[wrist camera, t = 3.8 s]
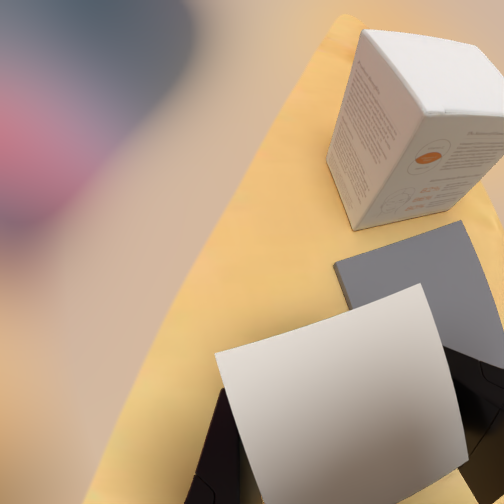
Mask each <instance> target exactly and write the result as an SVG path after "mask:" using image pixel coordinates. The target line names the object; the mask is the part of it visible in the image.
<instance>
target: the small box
mask: <svg viewBox="0 0 504 504" xmlns="http://www.w3.org/2000/svg"><path fill="white" fill-rule="evenodd" d="M503 155H504V77H503V76H502V75H501V73H500V72H499V71H498V70H497V68H496V67H495V66H494V65H493V64H492V63H491V62H490V60H489V59H488V58H487V57H486V56H485V55H484V54H483V53H482V51H481V50H480V49H479V48H478V47H477V46H474V45H469V44H465V43H461V42H457V41H452V40H447V39H441V38H436V37H430V36H424V35H417V34H410V33H401V32H392V31H382V30H370V29H363V30H362V31H361V34H360V38H359V42H358V46H357V49H356V53H355V57H354V61H353V65H352V69H351V72H350V76H349V80H348V83H347V87H346V90H345V94H344V98H343V101H342V104H341V108H340V112H339V115H338V119H337V122H336V126H335V129H334V133H333V136H332V139H331V143H330V146H329V150H328V153H327V156H326V161H327V164H328V166H329V169H330V171H331V174H332V176H333V179H334V181H335V184H336V187H337V189H338V192H339V194H340V197H341V200H342V202H343V205H344V208H345V210H346V213H347V216H348V218H349V221H350V224H351V227H352V229H353V230H354V231H357V230H361V229H365V228H369V227H374V226H378V225H383V224H388V223H392V222H397V221H401V220H406V219H411V218H415V217H420V216H424V215H429V214H433V213H438V212H443V211H448V210H449V209H450V208H451V207H453V206H454V205H455V204H456V203H457V202H458V201H459V200H460V199H461V198H462V197H463V196H464V195H465V194H466V193H467V192H468V191H469V190H470V189H471V188H472V187H473V186H474V185H475V184H476V183H477V182H478V181H479V180H480V179H481V178H482V177H483V176H484V175H485V174H486V173H487V172H488V171H489V170H490V169H491V168H492V167H493V166H494V165H495V164H496V163H497V162H498V161H499V159H500V158H501V157H502V156H503Z"/></svg>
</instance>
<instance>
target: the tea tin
mask: <svg viewBox="0 0 504 504" xmlns="http://www.w3.org/2000/svg"><path fill="white" fill-rule="evenodd" d="M214 354H215V357H216V361H217V364H218V367H219V371H220V374H221V377H222V381H223V384H224V387H225V391H226V394H227V397H228V400H229V403H230V406H231V409H232V413H233V416H234V419H235V422H236V425H237V428H238V431H239V434H240V437H241V440H242V443H243V446H244V448H245V451H246V454H247V457H248V460H249V463H250V466H251V468H252V471H253V474H254V477H255V479H256V482H257V485H258V488H259V490H260V493H261V495H262V498H263V501H264V503H265V504H396V503H398V502H400V501H402V500H404V499H406V498H408V497H410V496H412V495H413V494H415V493H417V492H419V491H421V490H422V489H424V488H426V487H428V486H429V485H431V484H433V483H434V482H436V481H438V480H439V479H441V478H442V477H444V476H446V475H447V474H449V473H450V472H452V471H453V470H455V469H456V468H458V467H459V466H461V465H462V464H464V463H465V462H466V461H468V460H469V458H468V452H467V446H466V440H465V435H464V429H463V424H462V420H461V415H460V410H459V406H458V402H457V397H456V393H455V389H454V385H453V381H452V378H451V374H450V370H449V367H448V363H447V360H446V356H445V353H444V350H443V346H442V343H441V340H440V337H439V334H438V331H437V328H436V325H435V322H434V319H433V316H432V313H431V310H430V307H429V304H428V302H427V299H426V296H425V294H424V291H423V288H422V286H421V283H419V284H416V285H414V286H412V287H409V288H407V289H404V290H402V291H399V292H397V293H394V294H392V295H389V296H387V297H384V298H382V299H379V300H377V301H374V302H371V303H369V304H366V305H364V306H361V307H358V308H356V309H353V310H350V311H347V312H345V313H342V314H339V315H336V316H333V317H331V318H328V319H325V320H322V321H319V322H316V323H313V324H310V325H307V326H304V327H301V328H298V329H295V330H292V331H289V332H286V333H283V334H280V335H276V336H273V337H270V338H267V339H263V340H260V341H257V342H253V343H250V344H247V345H243V346H240V347H236V348H233V349H229V350H225V351H222V352H218V353H214Z"/></svg>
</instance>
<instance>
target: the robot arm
mask: <svg viewBox="0 0 504 504" xmlns="http://www.w3.org/2000/svg"><path fill="white" fill-rule="evenodd" d="M442 346H443V345H442ZM443 350H444V353H445V356H446V360H447V363H448V367H449V370H450V374H451V378H452V381H453V385H454V389H455V393H456V397H457V402H458V406H459V410H460V415H461V420H462V424H463V429H464V435H465V440H466V446H467V452H468V458H469V460H468V461H466V462H465V463H464V464H462V465H461V466H459V467H458V470H459V472H460V473H461V475H462V476H463V478H464V480H465V481H466V483H467V485H468V486H469V488H470V490H471V491H472V493H473V495H474V496H475V498H476V500H477V501H478V503H479V504H493V503H494V502H495V501H496V500H498V499H499V498H500V497H501V496H503V495H504V369H503V368H499V367H497V366H494V365H491V364H488V363H486V362H483V361H481V360H480V361H479V360H478V359H476V358H473V357H471V356H468V355H466V354H463V353H461V352H458V351H456V350H453V349H451V348H448V347H446V346H443ZM195 474H196V475H194V477H193V481H192V484H191V487H190V489H189V492H188V495H187V498H186V500H185V502H184V504H262V499H261V493H260V490H259V488H258V485H257V482H256V479H255V477H254V474H253V471H252V468H251V466H250V463H249V460H248V457H247V454H246V451H245V448H244V446H243V443H242V440H241V437H240V434H239V431H238V428H237V425H236V422H235V419H234V416H233V413H232V409H231V406H230V403H229V400H228V397H227V394H226V391H225V388H222V389H221V391H220V394H219V397H218V400H217V403H216V407H215V410H214V413H213V416H212V420H211V423H210V426H209V429H208V433H207V436H206V439H205V442H204V446H203V449H202V452H201V455H200V458H199V462H198V465H197V468H196V471H195Z"/></svg>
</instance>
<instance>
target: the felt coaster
mask: <svg viewBox="0 0 504 504" xmlns="http://www.w3.org/2000/svg"><path fill="white" fill-rule="evenodd" d="M333 267H334V269H335V272H336V274H337V277H338V280H339V282H340V285H341V288H342V291H343V293H344V296H345V299H346V302H347V304H348V307H349V310H353V309H356V308H358V307H361V306H364V305H366V304H369V303H371V302H374V301H377V300H379V299H382V298H384V297H387V296H389V295H392V294H394V293H397V292H399V291H402V290H404V289H407V288H409V287H412V286H414V285H416V284H419V283H421V286H422V288H423V291H424V294H425V296H426V299H427V302H428V304H429V307H430V310H431V313H432V316H433V319H434V322H435V325H436V328H437V331H438V334H439V337H440V340H441V343H442V345H443V346H446V347H448V348H451V349H453V350H456V351H458V352H461V353H463V354H466V355H468V356H471V357H473V358H476V359H478V360H479V361H480V360H481V361H483V362H486V363H488V364H491V365H494V366H497V367H499V368H503V369H504V331H503V328H502V324H501V321H500V317H499V314H498V311H497V308H496V305H495V302H494V299H493V296H492V293H491V290H490V288H489V285H488V282H487V279H486V277H485V274H484V272H483V269H482V267H481V264H480V262H479V259H478V257H477V254H476V252H475V250H474V247H473V245H472V243H471V240H470V238H469V236H468V234H467V232H466V229H465V227H464V225H463V223H462V221H461V220H460V221H457V222H454V223H451V224H448V225H446V226H443V227H440V228H437V229H434V230H431V231H428V232H425V233H423V234H420V235H417V236H414V237H411V238H408V239H405V240H402V241H399V242H396V243H393V244H390V245H387V246H384V247H381V248H378V249H375V250H372V251H369V252H366V253H363V254H360V255H357V256H354V257H350V258H347V259H344V260H341V261H338V262H335V264H334V265H333Z"/></svg>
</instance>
